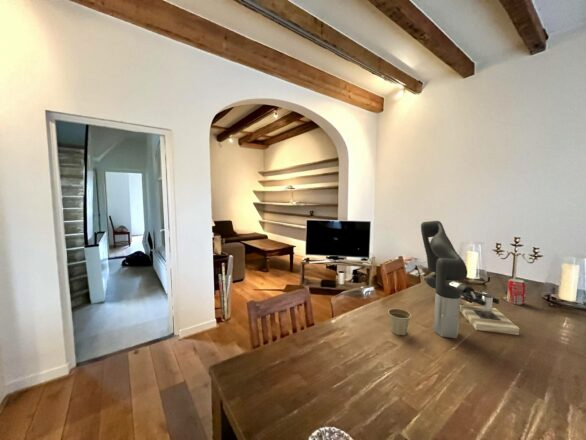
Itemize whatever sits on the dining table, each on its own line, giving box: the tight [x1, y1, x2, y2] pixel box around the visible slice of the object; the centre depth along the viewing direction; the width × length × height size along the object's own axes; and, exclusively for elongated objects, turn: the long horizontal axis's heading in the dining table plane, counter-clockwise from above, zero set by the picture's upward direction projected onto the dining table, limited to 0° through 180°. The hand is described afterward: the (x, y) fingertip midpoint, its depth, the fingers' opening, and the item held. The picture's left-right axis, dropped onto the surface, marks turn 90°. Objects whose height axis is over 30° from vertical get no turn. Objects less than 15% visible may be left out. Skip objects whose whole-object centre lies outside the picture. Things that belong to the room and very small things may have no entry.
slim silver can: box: [480, 290, 495, 318], centre depth 119 cm, size 5×5×14 cm
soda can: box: [506, 278, 526, 306], centre depth 140 cm, size 7×7×13 cm
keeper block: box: [459, 304, 520, 336], centre depth 119 cm, size 20×16×3 cm
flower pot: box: [387, 308, 412, 336], centre depth 110 cm, size 9×9×9 cm
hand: (491, 302), depth 117 cm, fingers open, 8 cm apart
